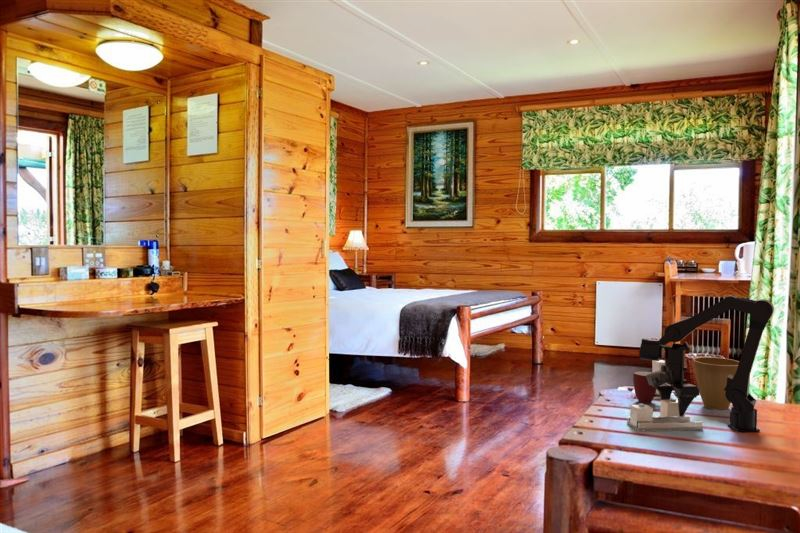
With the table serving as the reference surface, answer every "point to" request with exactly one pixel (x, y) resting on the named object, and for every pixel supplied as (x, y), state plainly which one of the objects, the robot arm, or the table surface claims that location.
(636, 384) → the mug
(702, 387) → the plant pot
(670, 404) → the block
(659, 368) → the skincare box
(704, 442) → the table surface
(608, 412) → the table surface
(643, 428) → the rail
